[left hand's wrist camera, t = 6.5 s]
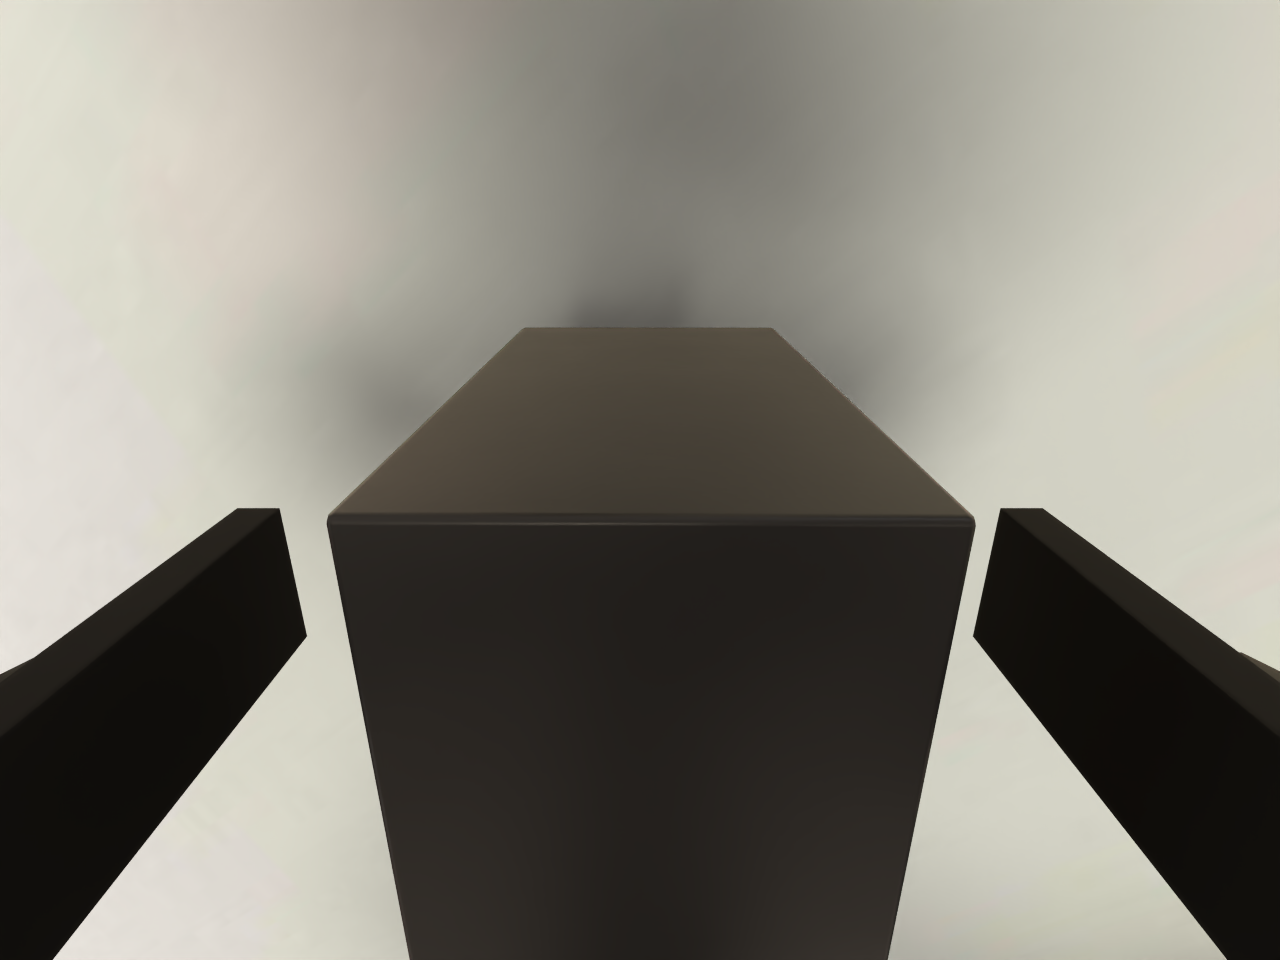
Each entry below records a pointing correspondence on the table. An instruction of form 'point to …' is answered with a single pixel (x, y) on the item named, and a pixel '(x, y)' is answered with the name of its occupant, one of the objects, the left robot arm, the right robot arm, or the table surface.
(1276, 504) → the table surface
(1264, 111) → the table surface
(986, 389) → the table surface
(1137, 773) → the left robot arm
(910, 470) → the bar
